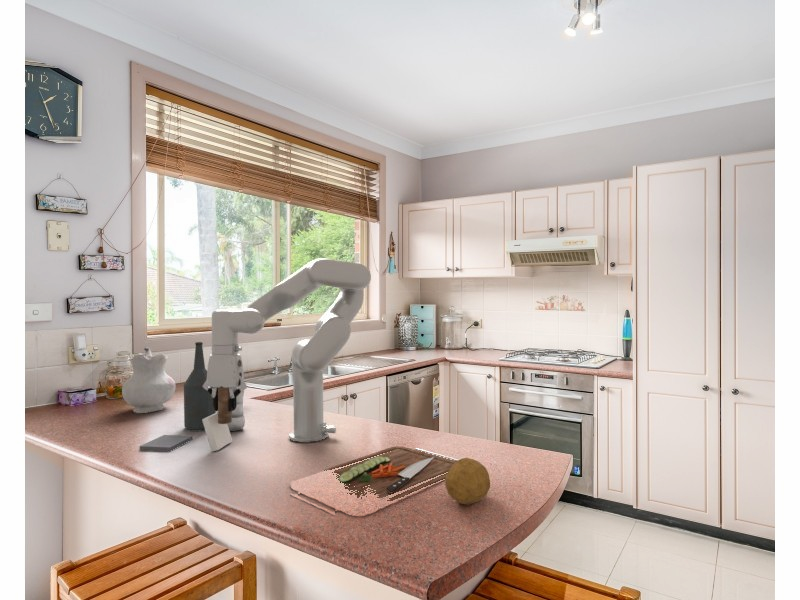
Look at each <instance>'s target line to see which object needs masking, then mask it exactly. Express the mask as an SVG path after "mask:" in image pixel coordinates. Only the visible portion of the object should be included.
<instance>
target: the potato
mask: <svg viewBox="0 0 800 600" xmlns="http://www.w3.org/2000/svg"><path fill="white" fill-rule="evenodd" d="M444 483H445V489H446V492H447V493H448V495H449V497H450V498H451V499H452V500H453V501H455V502H456V503H458V504H461V505H462V504H463V505H465V504H469V505H472V504H475V503H477V502H479V501H480V500H482V499H484V498H485V497H486V496H487V494H488V493H489V491H490V488H491V479H490V474H489V472H488V470H487V467H486V466H484V465H483V463H481V462H480V461H478V460H476V459H474V458H469V457H464V458H463V457H462V458H460V459H459V460H458V461H456V462H455V463H454V464H453V465H452V467H451V468H450V470H449V472H448V473H447V475H446V478H445V481H444ZM471 503H472V504H471Z"/></svg>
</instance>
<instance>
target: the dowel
mask: <svg viewBox="0 0 800 600" xmlns="http://www.w3.org/2000/svg"><path fill="white" fill-rule="evenodd" d="M229 398H230V392H229V388H225V387H223V386H221V387H219V388H218V411H217V412H218V423H219V424H228V423H231V422H232V411H231V412H229Z"/></svg>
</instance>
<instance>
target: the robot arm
mask: <svg viewBox="0 0 800 600" xmlns="http://www.w3.org/2000/svg"><path fill="white" fill-rule="evenodd" d="M371 281H372V275H371V271H370V270H369V268H368V267H367V266H366V265H364V264H362V263H357V262H351V261H343V260H336V259H331V258H317V259H313V260H311V261H309V262H308V263H307V264H305V265H303V267H301V268H300V269H298V270H297V271H296V272H294V273H293V274H291V275H290V276H288V277H287V278H286V279H284V280H282V281H281V282H279V283H278V284H277V285H275V286H274V287H273V288H272V289H270V290H269V291H267V292H266V293H265V294H263V295H262V296H260V297H259V298H257V299H256V300H254V301H253V302H252V303H250V304H248V306H246V307H244V308H243V309H242V310H234V309H216V310H213V311H212V312H211V354H210V355H209V358H208V362H207V369H206V370H207V380H206V381H205V383H204V385H203V388H204V389H206V390H207V391H208V392H209V393H210V394H211V395H212V398H213V407H214V411H216V412H218V388H219V387H221V386H223V387H225V388H229V392H230V398H229V412H231V411H233V410H235V409H236V406H237V403H236V397H237V396H238V395H239V394H240V393H241V392H242V391H243V390H244V391H245V390H246V389H247V388H248V385H247V383H246V382H245V378H244V376H245V373H244V363H243V360H242V355H241V354H240V353H239V352H242V350H243V347H242V346H239V344H238V343H239V342H238V339H239V337H238V336H239V334H240V333H241V334H251V335H252V334H257V333H259V332H260V331H262V329H263V328H264V326H265V323H266V322H267V321H269V319H272V318H273V317H274V316H276V315H277V314H279V313H281V312H283V311H285V310H288V309H291V308H294V306H296V305H298V304H299V303H300V302H302V301H303V300H304V299H306V298H307V297H308V296H310V295H312V294H313V293H314V292H316V291H317V290H319V289H320V288H321V287H323V286H324V287H330V288H331V287H332V288H339V293H338V296H337V298H336V299H335V300H334V302H333V303H332V305H331V306H330V307H329V308H328V309H327V311H326V312H325V313H324V314H323V315H322V316H321V317H320V318H319V319H318V321H316V324H315V326H314V332H315V333H314V334H313V336H312V337H311V338H310V339H303V340H300V341H299V342H297V343H296V344H295V345H294V346H293V349H292V352H291V368H292V380H293V384H292V385H293V387H292V389H293V394H292V395H293V396H292V397H293V431H291V432H290V433H289V434H288V439H289V438H290V439H291V441H292V440H294V441H293V442H295V441H300V442H299V443H311V442H310V441H316V442H319V441H318V440H320V441H323V440H326V439H327V438H328V437H329V434H336V433H337V427H336V426H335V425H328V424H327V420H326V421H325V420H324V375H323V370H325V369H326V368H327V367H328V366H330V363H331V362H332V361H333V360H334V359H335V358H336V356H338V354H339V353H340V351H341V350H342V349H343V348H344V347H345V345H346V344H347V343H348V341H349V339H350V336H351V332H352V327H351V323H352V322H353V320H354V319H355V317H356V316H357V315H358V313H359V312H360V310H361V309H362V306H363V303H364V294H365V293H364V289H366V288H367V287H369V284H370V283H371ZM237 386H240V388H239V389H237ZM326 437H327V438H326ZM325 438H326V439H325ZM290 439H289V440H290ZM322 439H323V440H322Z"/></svg>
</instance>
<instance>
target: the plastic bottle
mask: <svg viewBox="0 0 800 600" xmlns="http://www.w3.org/2000/svg"><path fill="white" fill-rule="evenodd" d="M239 388H240V386H237V389H239ZM244 393H245V390H243V391H242V392H241V393H240V394H239V395H238V396H237V397H236V403H237V406H236V409H235V410H233V411H232V422H231V423H228V424H227V425H228V428H229V431H230V432H235V431H240V430H241V431H242V430H243V428H244V427H245V424H246V418H245V415H244Z"/></svg>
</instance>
